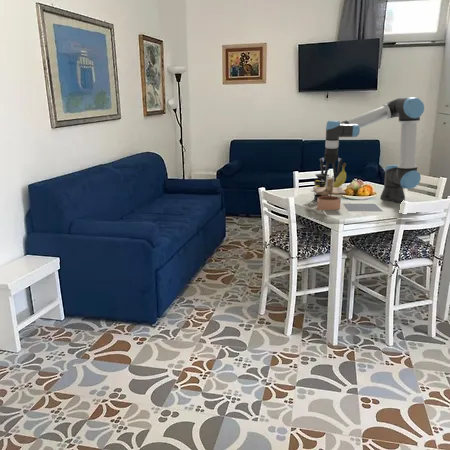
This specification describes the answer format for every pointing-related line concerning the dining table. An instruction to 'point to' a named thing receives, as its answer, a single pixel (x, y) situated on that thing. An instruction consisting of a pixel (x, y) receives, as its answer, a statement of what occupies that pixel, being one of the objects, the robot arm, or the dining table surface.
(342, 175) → the banana
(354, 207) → the mat
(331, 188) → the lid
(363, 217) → the dining table surface
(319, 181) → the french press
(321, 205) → the bowl
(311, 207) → the dining table surface
